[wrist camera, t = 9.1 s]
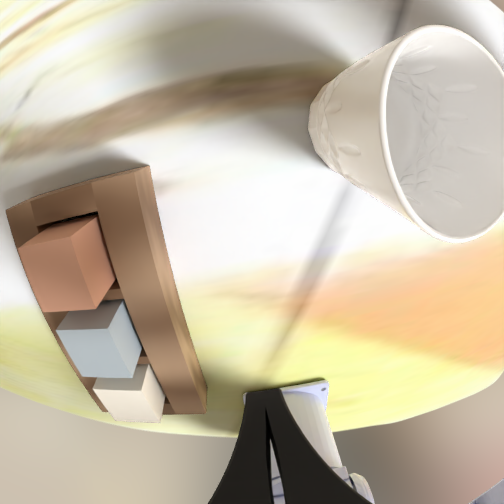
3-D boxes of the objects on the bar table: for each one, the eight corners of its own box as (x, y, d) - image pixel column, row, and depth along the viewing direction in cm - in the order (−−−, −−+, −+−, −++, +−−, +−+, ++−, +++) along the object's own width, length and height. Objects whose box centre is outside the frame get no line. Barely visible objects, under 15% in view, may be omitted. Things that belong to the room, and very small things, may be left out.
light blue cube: (145, 338, 19) (132, 378, 16) (99, 340, 19) (82, 376, 15) (127, 291, 18) (107, 328, 14) (80, 296, 17) (55, 330, 14)
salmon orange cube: (119, 273, 17) (96, 309, 13) (70, 279, 17) (43, 312, 13) (102, 212, 15) (70, 236, 11) (52, 224, 15) (17, 248, 11)
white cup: (279, 160, 17) (340, 196, 7) (320, 48, 14) (407, -17, 5) (385, 203, 18) (487, 266, 9) (419, 103, 15) (534, 106, 6)
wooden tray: (207, 387, 24) (206, 413, 21) (110, 388, 23) (102, 411, 21) (149, 165, 16) (133, 172, 13) (29, 198, 16) (5, 210, 13)
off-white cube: (167, 385, 22) (160, 422, 18) (125, 385, 21) (115, 420, 18) (151, 351, 20) (141, 390, 16) (107, 353, 20) (92, 388, 16)
